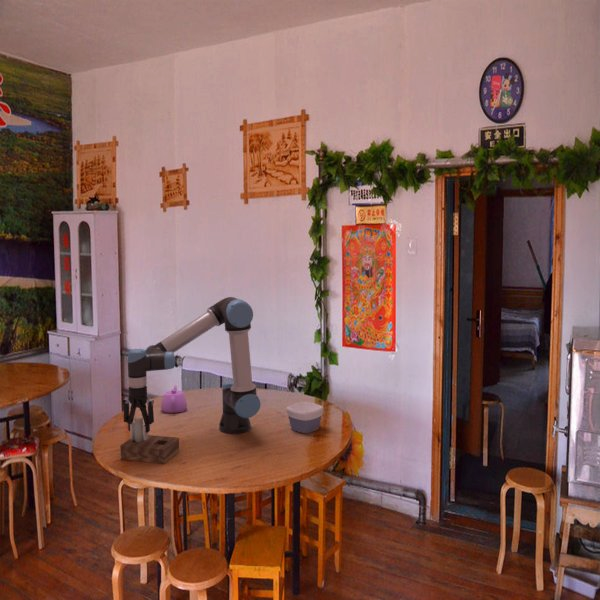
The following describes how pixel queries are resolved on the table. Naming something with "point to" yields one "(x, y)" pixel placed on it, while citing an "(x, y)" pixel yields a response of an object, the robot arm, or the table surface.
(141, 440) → the pin
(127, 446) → the block
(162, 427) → the table surface
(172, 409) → the teapot
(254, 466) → the table surface
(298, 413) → the lidded storage container
